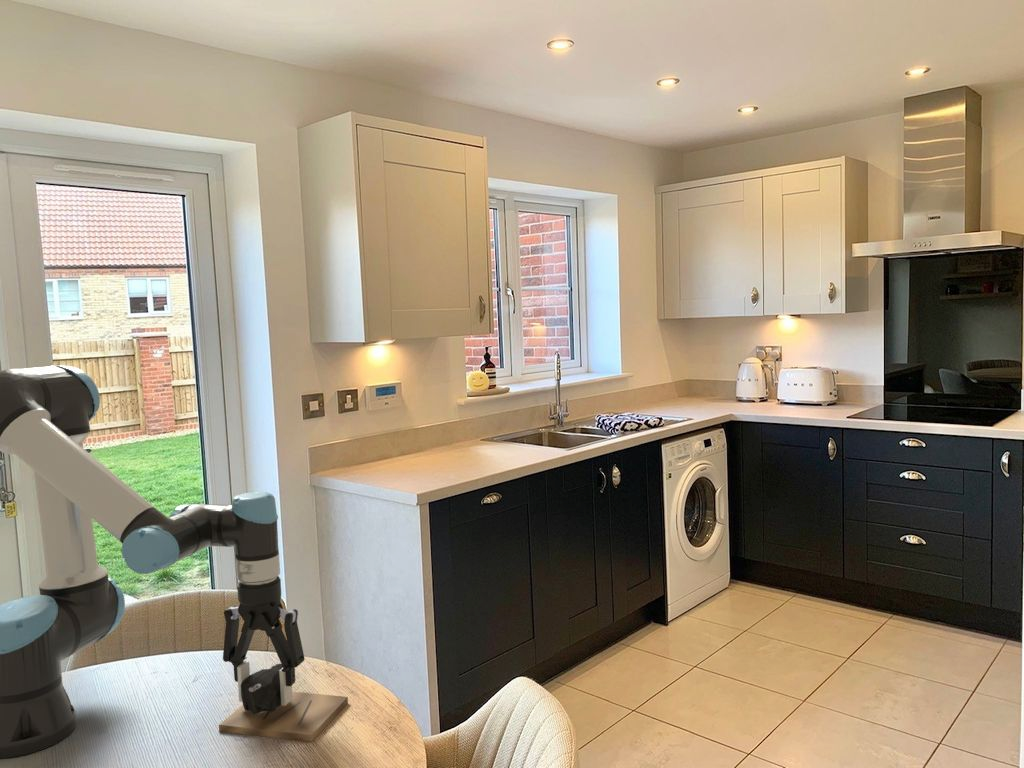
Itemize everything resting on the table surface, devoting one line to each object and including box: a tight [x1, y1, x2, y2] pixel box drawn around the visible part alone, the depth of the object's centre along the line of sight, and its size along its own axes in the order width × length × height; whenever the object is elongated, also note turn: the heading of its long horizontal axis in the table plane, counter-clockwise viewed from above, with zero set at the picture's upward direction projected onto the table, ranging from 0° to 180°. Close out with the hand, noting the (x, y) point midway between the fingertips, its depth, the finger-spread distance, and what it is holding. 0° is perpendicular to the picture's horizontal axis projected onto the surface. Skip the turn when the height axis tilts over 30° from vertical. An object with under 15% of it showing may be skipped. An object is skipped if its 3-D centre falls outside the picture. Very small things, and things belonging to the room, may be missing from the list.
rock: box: [241, 663, 283, 714], centre depth 143 cm, size 9×10×6 cm
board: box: [218, 691, 349, 743], centre depth 144 cm, size 18×14×1 cm
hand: (265, 699), depth 144 cm, fingers closed on rock, 8 cm apart
